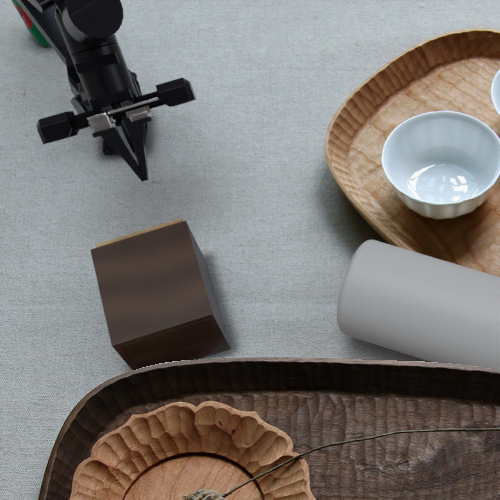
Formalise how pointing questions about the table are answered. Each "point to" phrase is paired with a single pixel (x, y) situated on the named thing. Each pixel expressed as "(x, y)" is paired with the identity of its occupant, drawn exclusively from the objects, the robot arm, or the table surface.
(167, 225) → the drawer
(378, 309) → the cylinder vase
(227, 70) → the table surface
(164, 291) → the cabinet
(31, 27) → the soda can
